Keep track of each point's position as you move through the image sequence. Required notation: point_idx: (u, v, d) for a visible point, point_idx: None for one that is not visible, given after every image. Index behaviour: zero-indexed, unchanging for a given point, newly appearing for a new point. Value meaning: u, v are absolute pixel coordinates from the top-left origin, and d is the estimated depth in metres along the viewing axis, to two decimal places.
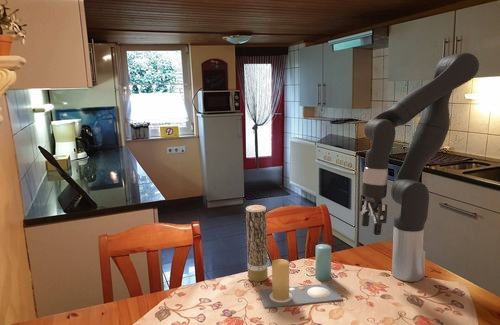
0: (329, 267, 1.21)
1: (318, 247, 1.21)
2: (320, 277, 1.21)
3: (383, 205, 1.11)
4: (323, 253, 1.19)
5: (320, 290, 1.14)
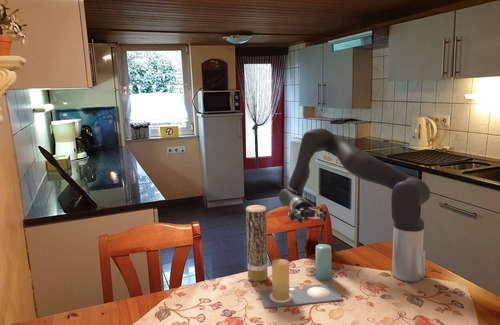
0: (329, 267, 1.21)
1: (318, 247, 1.21)
2: (320, 277, 1.21)
3: None
4: (323, 253, 1.19)
5: (320, 290, 1.14)
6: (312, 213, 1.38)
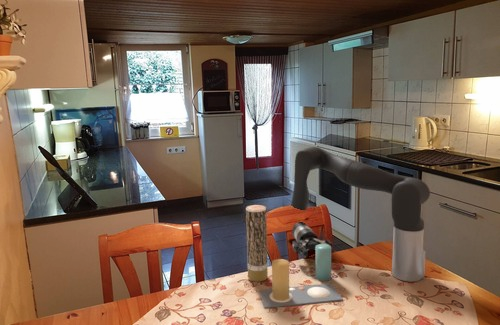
0: (329, 267, 1.21)
1: (318, 247, 1.21)
2: (320, 277, 1.21)
3: None
4: (323, 253, 1.19)
5: (320, 290, 1.14)
6: None
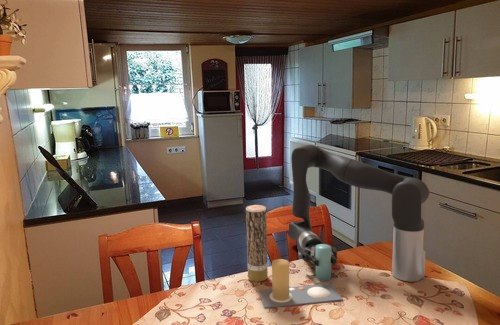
0: (329, 267, 1.21)
1: (318, 247, 1.21)
2: (320, 277, 1.21)
3: (298, 252, 1.29)
4: (323, 253, 1.19)
5: (320, 290, 1.14)
6: None
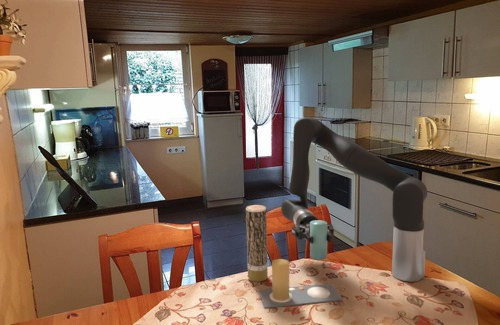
0: (325, 245, 1.11)
1: (313, 223, 1.11)
2: (315, 255, 1.11)
3: (292, 230, 1.19)
4: (318, 229, 1.09)
5: (320, 290, 1.14)
6: None
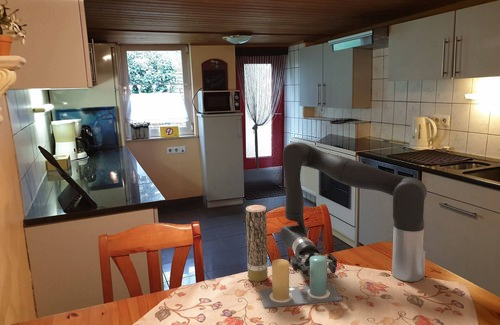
0: (324, 281, 1.10)
1: (313, 259, 1.11)
2: (315, 292, 1.11)
3: None
4: (318, 266, 1.09)
5: None
6: None
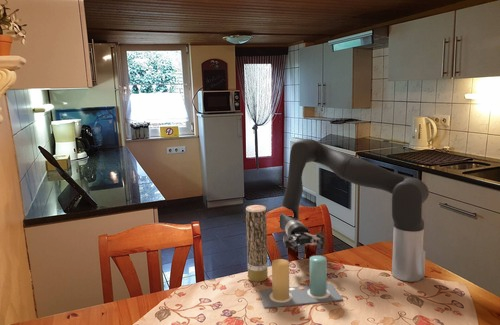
0: (324, 281, 1.10)
1: (312, 259, 1.11)
2: (315, 292, 1.11)
3: None
4: (318, 266, 1.09)
5: None
6: (309, 239, 1.29)
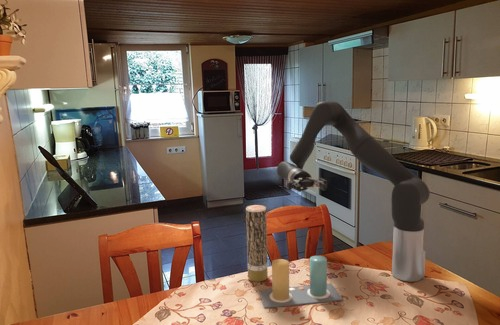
0: (324, 281, 1.10)
1: (312, 259, 1.11)
2: (315, 292, 1.11)
3: None
4: (318, 266, 1.09)
5: None
6: (311, 182, 1.31)
